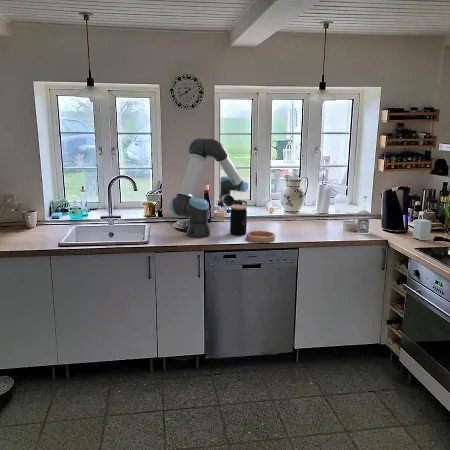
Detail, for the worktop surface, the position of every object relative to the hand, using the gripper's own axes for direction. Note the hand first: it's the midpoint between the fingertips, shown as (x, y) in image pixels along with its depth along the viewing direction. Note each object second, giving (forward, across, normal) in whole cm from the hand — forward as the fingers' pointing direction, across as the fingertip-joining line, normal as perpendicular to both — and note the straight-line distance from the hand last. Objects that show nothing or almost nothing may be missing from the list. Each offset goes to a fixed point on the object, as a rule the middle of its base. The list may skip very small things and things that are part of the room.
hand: (235, 206), depth 290 cm
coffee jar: (+11, +1, -16) cm, 20 cm away
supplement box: (+43, -111, -18) cm, 121 cm away
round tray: (+25, -10, -16) cm, 32 cm away
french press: (+20, -82, -18) cm, 87 cm away
